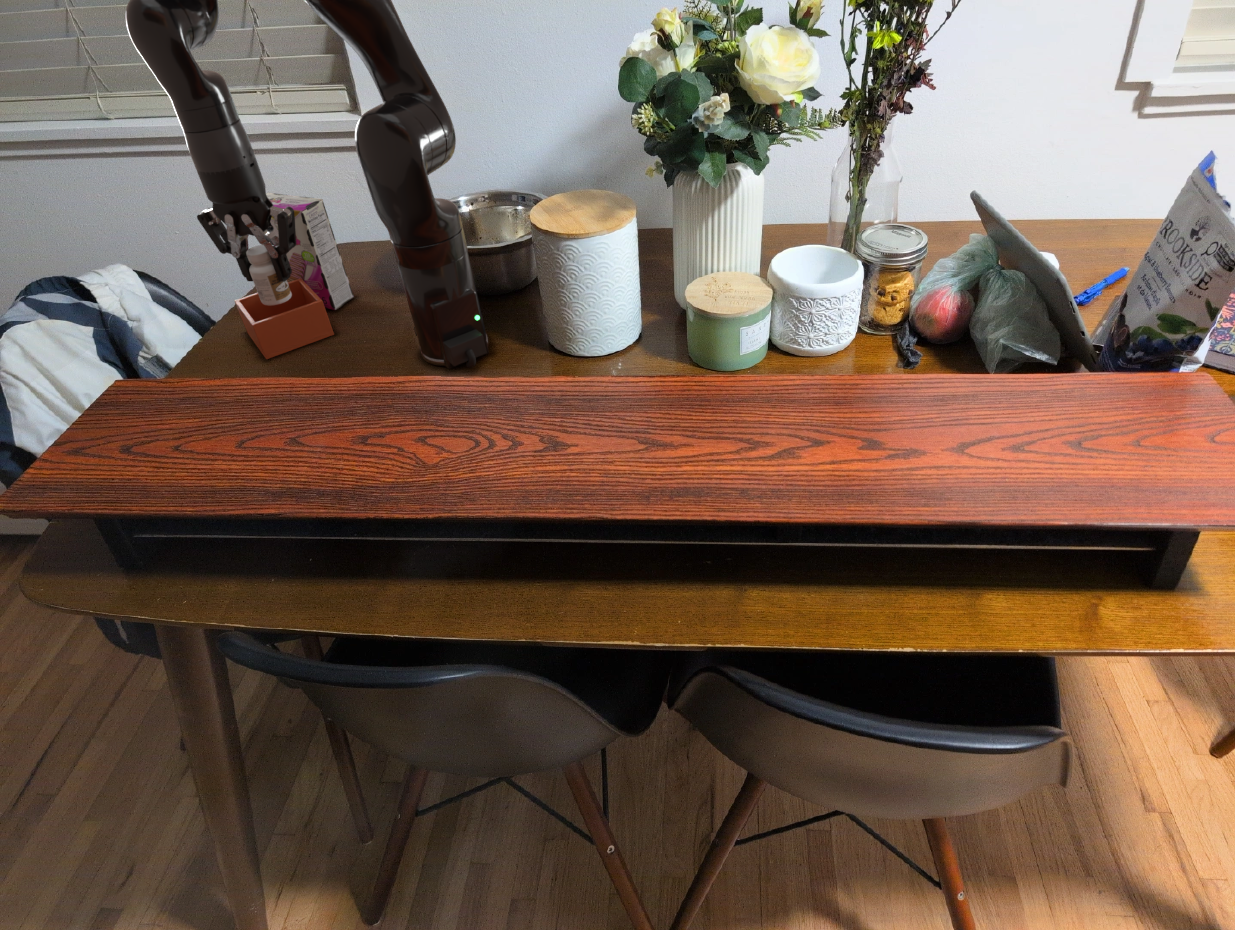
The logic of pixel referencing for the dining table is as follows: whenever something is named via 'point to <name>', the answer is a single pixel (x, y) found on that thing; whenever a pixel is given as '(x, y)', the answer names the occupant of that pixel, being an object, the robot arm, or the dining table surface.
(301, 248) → the candy bar box
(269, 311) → the bin
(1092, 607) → the dining table surface
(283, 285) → the pill bottle
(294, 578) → the dining table surface
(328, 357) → the dining table surface
